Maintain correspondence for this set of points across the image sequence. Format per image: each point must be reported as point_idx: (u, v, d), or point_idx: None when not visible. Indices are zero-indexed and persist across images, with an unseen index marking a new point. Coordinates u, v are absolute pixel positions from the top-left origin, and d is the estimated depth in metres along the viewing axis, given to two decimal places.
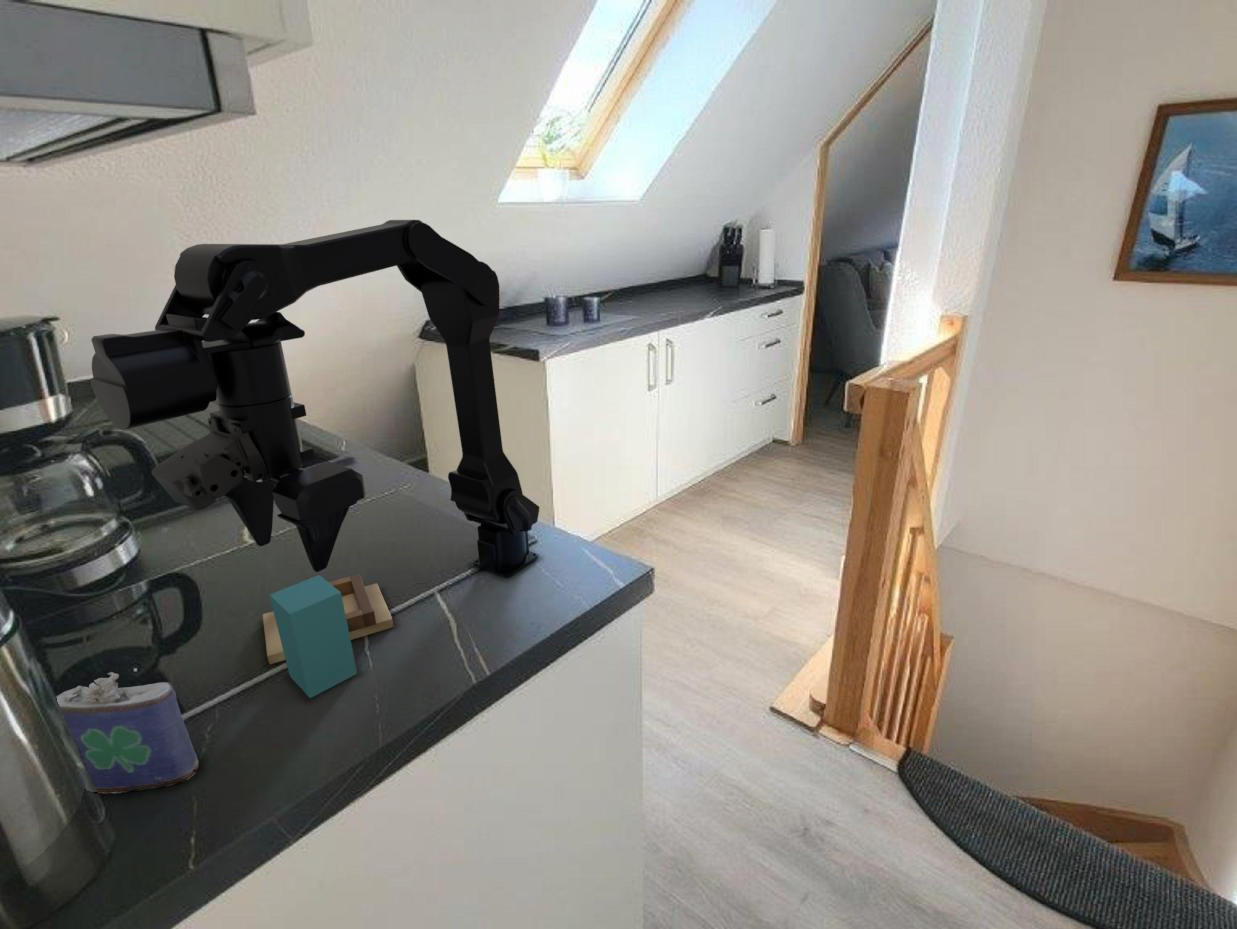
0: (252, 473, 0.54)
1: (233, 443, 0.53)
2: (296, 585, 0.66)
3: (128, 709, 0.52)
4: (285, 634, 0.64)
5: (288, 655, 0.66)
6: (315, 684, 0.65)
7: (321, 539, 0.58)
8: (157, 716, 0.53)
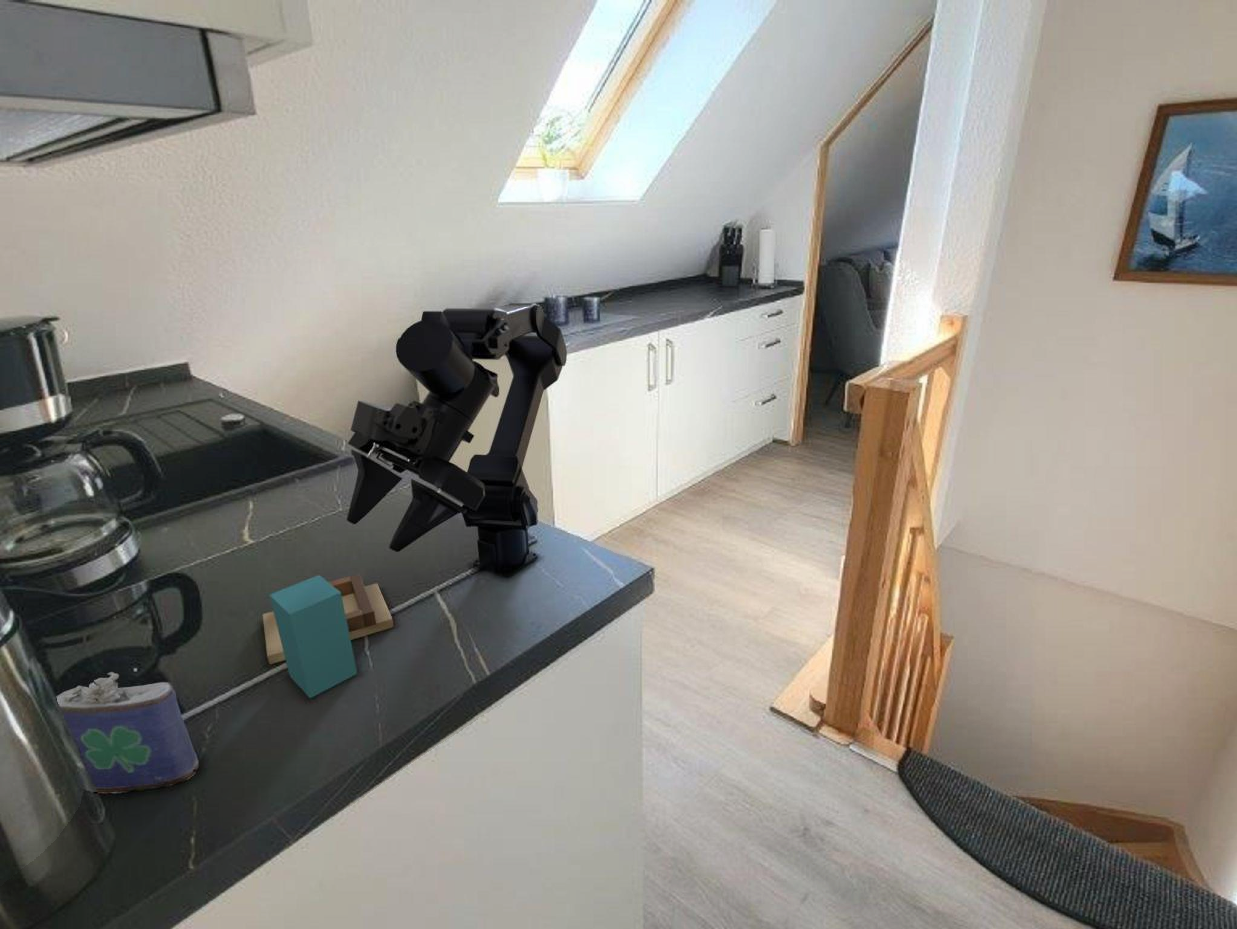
0: (416, 445, 0.66)
1: (422, 418, 0.67)
2: (296, 585, 0.66)
3: (128, 709, 0.52)
4: (285, 634, 0.64)
5: (288, 655, 0.66)
6: (315, 684, 0.65)
7: (417, 523, 0.65)
8: (156, 716, 0.53)
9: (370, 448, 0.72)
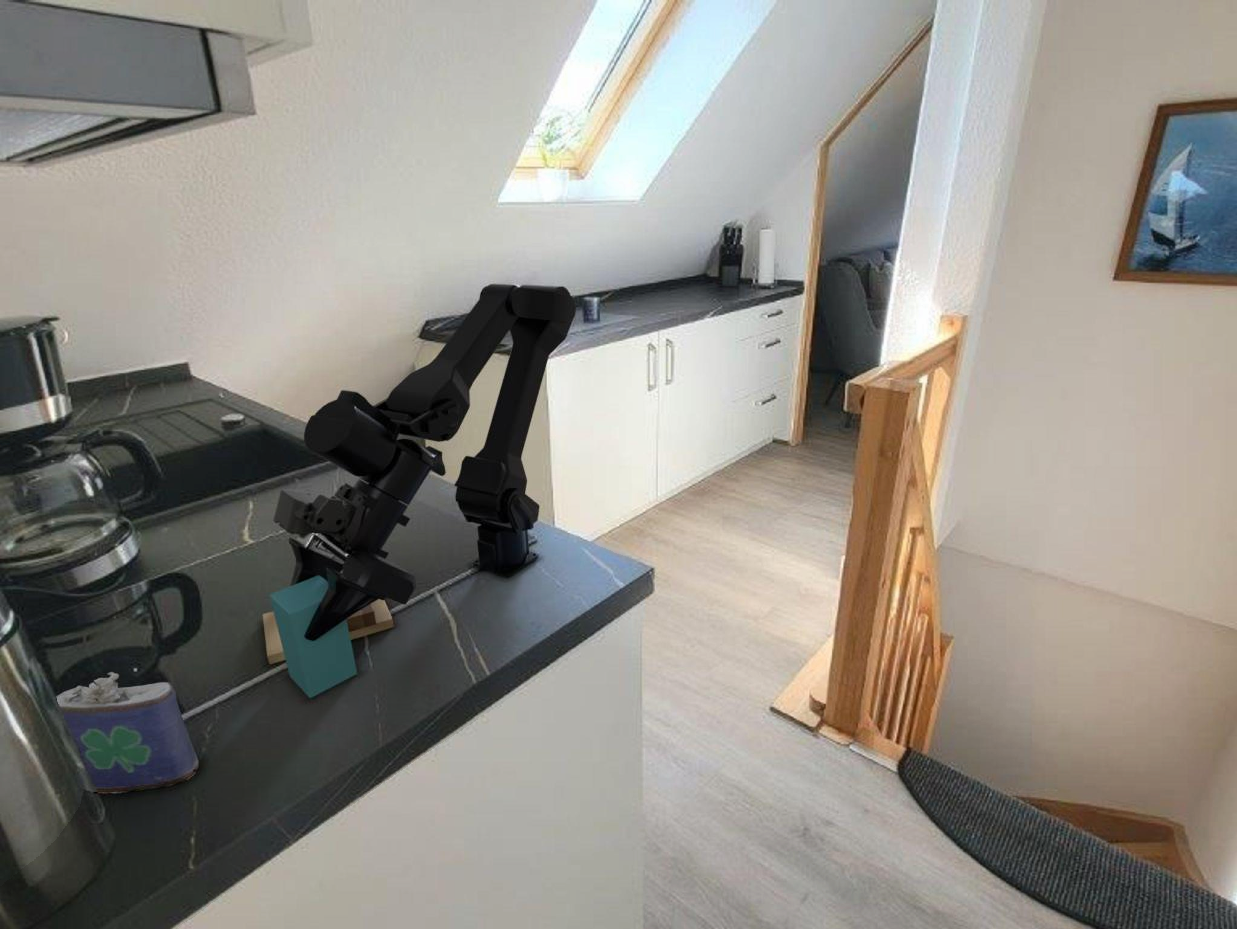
0: (343, 535, 0.63)
1: (350, 506, 0.63)
2: (296, 585, 0.66)
3: (128, 709, 0.52)
4: (285, 634, 0.64)
5: (288, 655, 0.66)
6: (315, 684, 0.65)
7: (334, 612, 0.63)
8: (156, 716, 0.53)
9: (309, 537, 0.67)
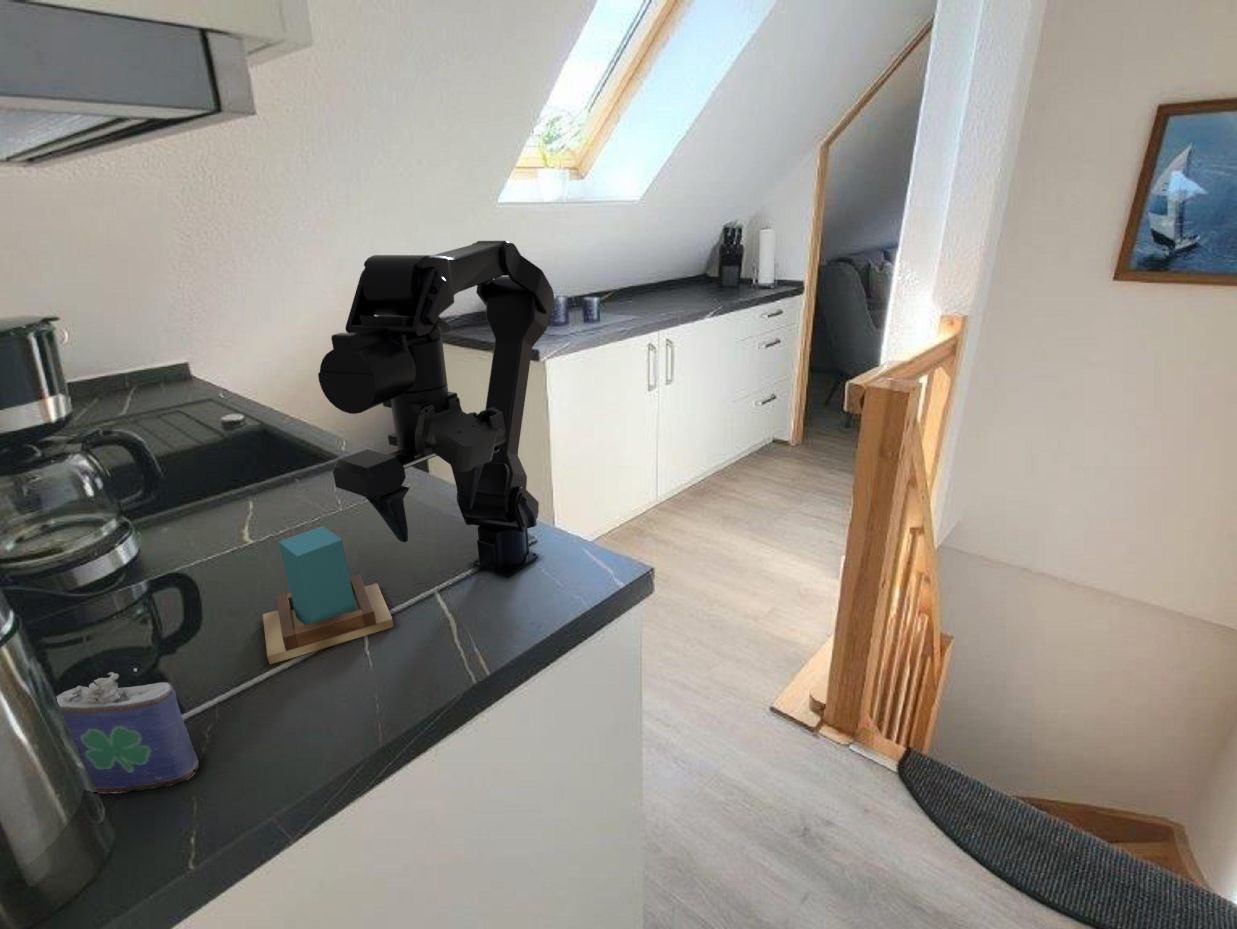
0: None
1: (461, 411, 0.66)
2: (302, 534, 0.73)
3: (128, 709, 0.52)
4: (292, 577, 0.72)
5: (295, 596, 0.73)
6: None
7: None
8: (156, 716, 0.53)
9: None
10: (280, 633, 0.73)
